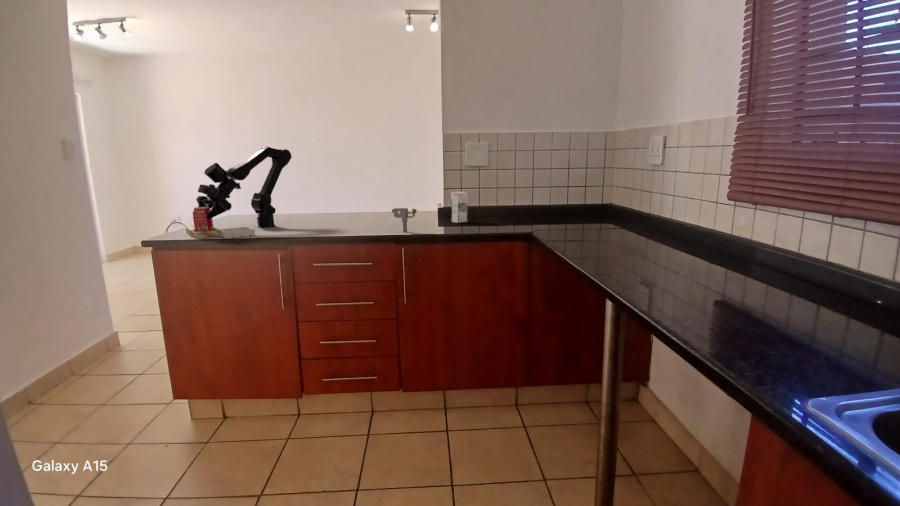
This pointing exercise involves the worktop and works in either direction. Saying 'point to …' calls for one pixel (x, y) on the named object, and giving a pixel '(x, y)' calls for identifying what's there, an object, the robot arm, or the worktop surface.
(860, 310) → the worktop surface
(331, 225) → the worktop surface
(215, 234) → the light wood shallow tray
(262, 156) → the robot arm
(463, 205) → the syrup box
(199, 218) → the soda can
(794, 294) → the worktop surface
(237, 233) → the frame
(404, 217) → the mechanical component
